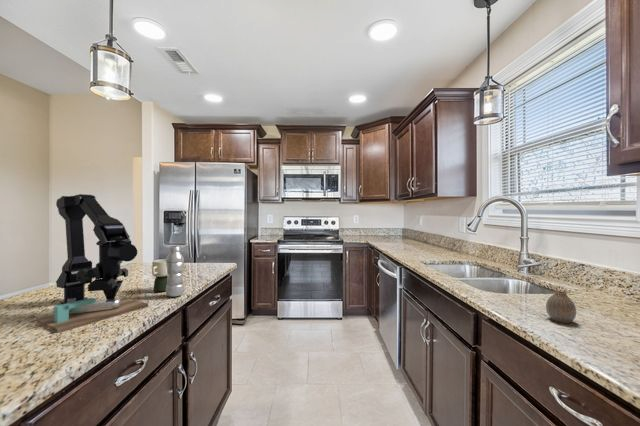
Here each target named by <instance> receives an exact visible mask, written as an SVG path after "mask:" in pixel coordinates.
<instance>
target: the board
mask: <svg viewBox="0 0 640 426" xmlns="http://www.w3.org/2000/svg"><path fill="white" fill-rule="evenodd" d="M119 299H120V307H118V308H115V309H107V310H99V311H92V312H84V313H76V314H69V320H67V321H63V322H60V323H56V322H54V314H53V315H49V316H45V317H42V318H41V317H40V318H37V319H36V323H37V324H39V325H41V326H43V327H45V328H47V329H49V330H51V331H53V332H54V333H56V334H58V333H62V332H66V331H69V330H73V329H76V328H79V327H83V326H87V325H90V324H93V323H97V322H99V321H103V320H107V319H110V318H113V317H117V316H121V315H123V314H128V313H130V312H134V311H137V310H141V309H144V308H145V309H146V308H148V307H149V303H148V302H143V301H140V300H137V299H133V298H130V297H129V298H128V297H123V298H119Z"/></svg>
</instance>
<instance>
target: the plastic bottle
mask: <svg viewBox="0 0 640 426" xmlns="http://www.w3.org/2000/svg"><path fill="white" fill-rule="evenodd" d="M180 251H181V245H170V246H169V253H168V255H167V256H166V257H165V259H166V266H167V273H168V274H167V276H168V277H167V286H166V290H165V294H166V295H167V297H173V298H175V297H179V296H182V295H183V294H184V292H185V284H184V278H183V271H184V261H185V258H184V256H183V254H182V253H181V252H180Z"/></svg>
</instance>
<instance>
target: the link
mask: <svg viewBox="0 0 640 426" xmlns="http://www.w3.org/2000/svg"><path fill="white" fill-rule="evenodd" d="M120 299H121V298H118V297H117V298H115V299H108V300H107V299H101V300H96V303H92V304H88V305H84V306H79V307H75V308H71V309H69V314H76V313H84V312H92V311H99V310H107V309H115V308H118V307H120ZM75 301H76V298H69V299H67V303H71V302H75Z"/></svg>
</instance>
